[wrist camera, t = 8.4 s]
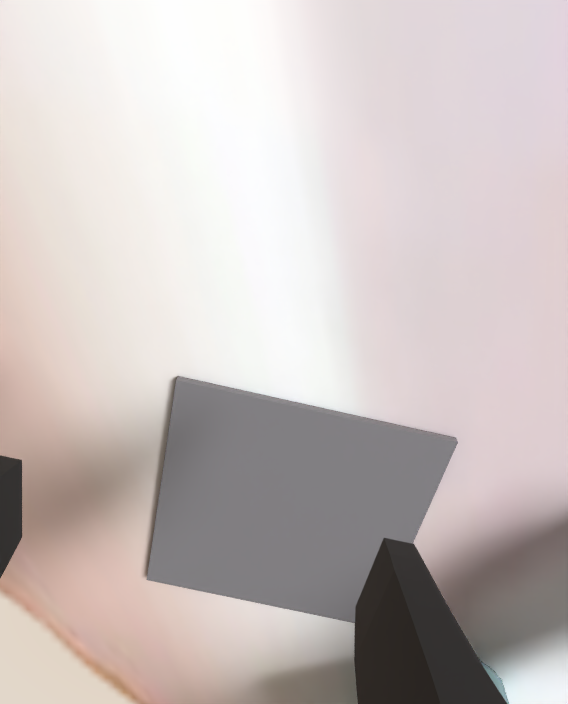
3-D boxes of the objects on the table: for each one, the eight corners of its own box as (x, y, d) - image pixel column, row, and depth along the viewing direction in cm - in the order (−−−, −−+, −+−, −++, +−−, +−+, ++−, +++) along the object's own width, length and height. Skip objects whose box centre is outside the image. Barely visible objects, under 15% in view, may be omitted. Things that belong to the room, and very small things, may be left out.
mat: (456, 437, 21) (457, 442, 21) (374, 621, 26) (375, 627, 26) (177, 376, 21) (176, 379, 20) (148, 574, 25) (146, 579, 25)
